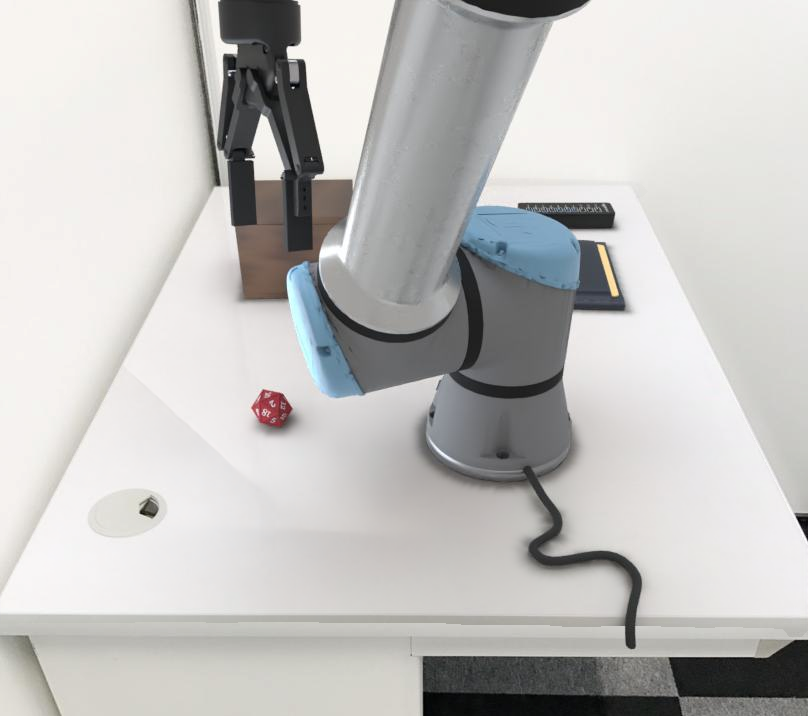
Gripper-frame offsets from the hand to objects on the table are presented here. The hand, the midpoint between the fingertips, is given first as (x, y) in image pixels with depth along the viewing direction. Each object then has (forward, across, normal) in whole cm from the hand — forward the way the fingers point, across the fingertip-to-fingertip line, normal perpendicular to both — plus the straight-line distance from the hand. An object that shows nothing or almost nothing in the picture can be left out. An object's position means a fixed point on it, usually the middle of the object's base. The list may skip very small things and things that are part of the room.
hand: (270, 237), depth 89 cm
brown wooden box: (+11, +23, -15) cm, 29 cm away
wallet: (+10, +5, -46) cm, 47 cm away
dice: (+18, -6, +3) cm, 19 cm away
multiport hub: (+6, +18, -58) cm, 61 cm away
